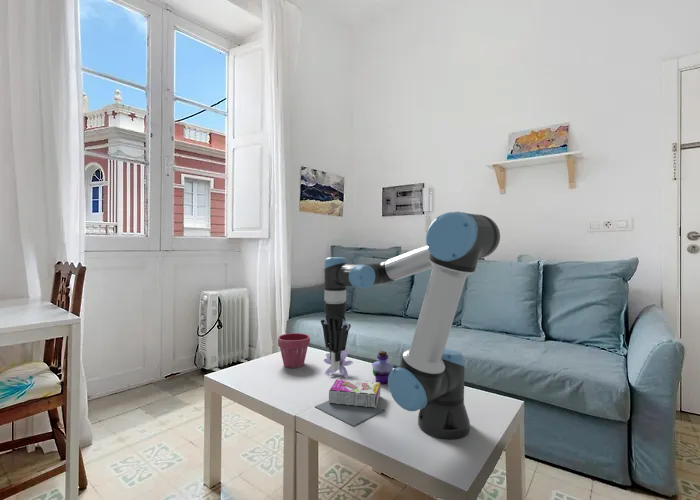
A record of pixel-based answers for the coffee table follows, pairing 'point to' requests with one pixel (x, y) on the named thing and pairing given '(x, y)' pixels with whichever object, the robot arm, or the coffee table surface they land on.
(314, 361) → the coffee table surface
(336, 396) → the candy bar box
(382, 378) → the potion bottle
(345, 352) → the water lily
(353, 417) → the mat
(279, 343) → the plant pot
